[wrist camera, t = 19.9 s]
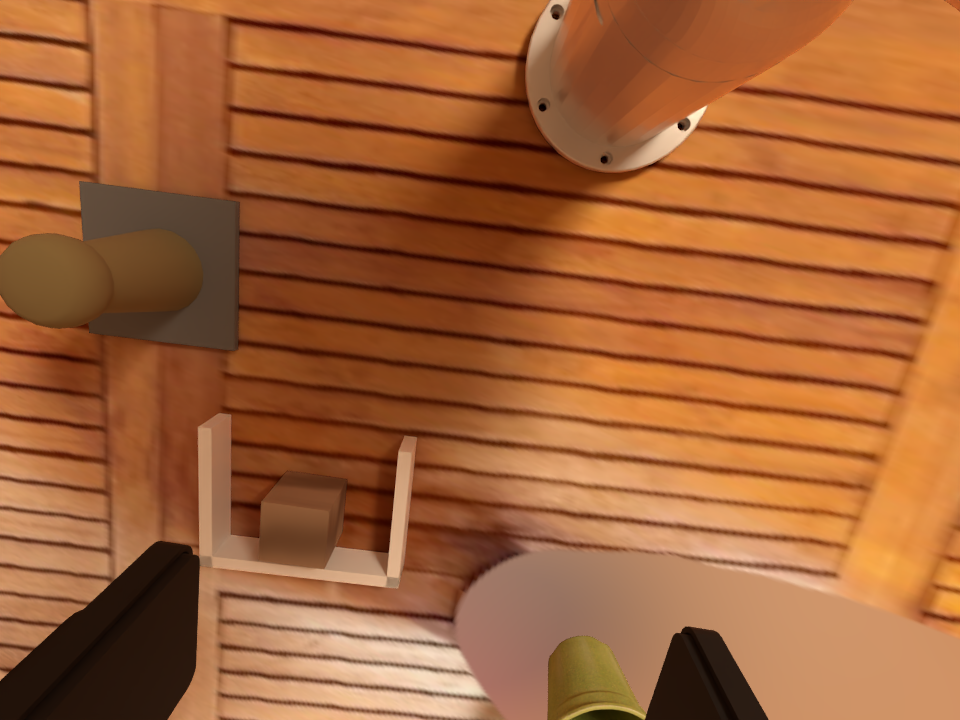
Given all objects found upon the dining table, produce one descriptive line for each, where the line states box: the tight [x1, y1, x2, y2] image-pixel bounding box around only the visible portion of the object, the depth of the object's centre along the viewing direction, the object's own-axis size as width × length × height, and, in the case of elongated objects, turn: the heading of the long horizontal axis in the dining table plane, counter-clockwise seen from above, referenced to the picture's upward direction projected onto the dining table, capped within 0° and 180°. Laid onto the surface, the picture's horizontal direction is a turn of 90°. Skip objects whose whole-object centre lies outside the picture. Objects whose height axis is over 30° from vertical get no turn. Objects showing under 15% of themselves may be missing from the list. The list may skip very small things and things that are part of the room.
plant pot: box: [548, 636, 646, 720], centre depth 41 cm, size 9×9×9 cm
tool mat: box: [79, 181, 239, 351], centre depth 37 cm, size 11×11×1 cm
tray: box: [198, 413, 417, 589], centre depth 40 cm, size 12×16×3 cm
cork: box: [0, 228, 203, 329], centre depth 31 cm, size 6×6×11 cm
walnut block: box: [258, 471, 347, 569], centre depth 39 cm, size 5×5×5 cm
